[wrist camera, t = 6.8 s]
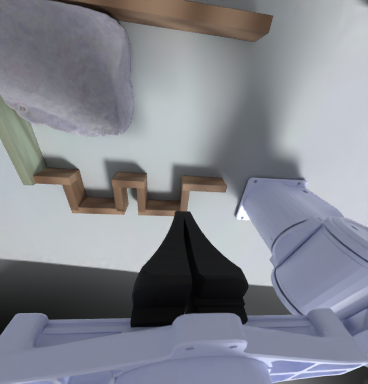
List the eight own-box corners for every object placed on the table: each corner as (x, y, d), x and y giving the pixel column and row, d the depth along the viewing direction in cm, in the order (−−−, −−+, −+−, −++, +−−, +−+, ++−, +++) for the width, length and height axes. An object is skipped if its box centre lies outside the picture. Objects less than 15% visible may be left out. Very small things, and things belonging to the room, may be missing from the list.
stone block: (139, 129, 21) (132, 19, 14) (129, 146, 17) (115, 9, 10) (43, 116, 20) (-13, -10, 13) (12, 131, 16) (-88, -33, 9)
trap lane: (258, 27, 15) (276, 13, 12) (214, 207, 26) (219, 219, 23) (-40, -22, 12) (-96, -54, 10) (53, 201, 23) (38, 214, 21)
